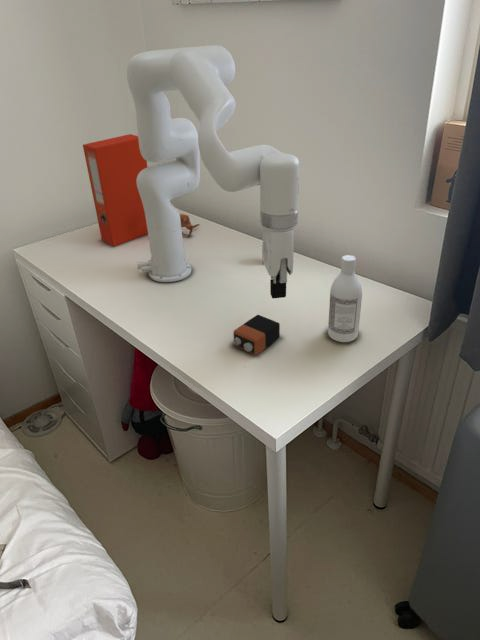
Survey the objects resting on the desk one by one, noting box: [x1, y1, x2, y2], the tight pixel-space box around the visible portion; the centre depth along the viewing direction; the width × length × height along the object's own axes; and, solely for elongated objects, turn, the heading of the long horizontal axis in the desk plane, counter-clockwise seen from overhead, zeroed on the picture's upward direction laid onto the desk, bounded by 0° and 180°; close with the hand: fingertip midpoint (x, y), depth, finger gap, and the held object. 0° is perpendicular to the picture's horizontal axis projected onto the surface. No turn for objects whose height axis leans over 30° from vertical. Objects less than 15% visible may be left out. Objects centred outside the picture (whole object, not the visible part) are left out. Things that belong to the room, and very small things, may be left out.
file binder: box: [82, 133, 148, 247], centre depth 166 cm, size 8×17×32 cm, turn 133°
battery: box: [233, 314, 281, 356], centre depth 115 cm, size 4×7×10 cm
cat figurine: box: [179, 213, 200, 237], centre depth 168 cm, size 18×7×14 cm, turn 141°
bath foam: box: [327, 254, 363, 343], centre depth 112 cm, size 7×7×20 cm
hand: (278, 295), depth 111 cm, fingers closed
